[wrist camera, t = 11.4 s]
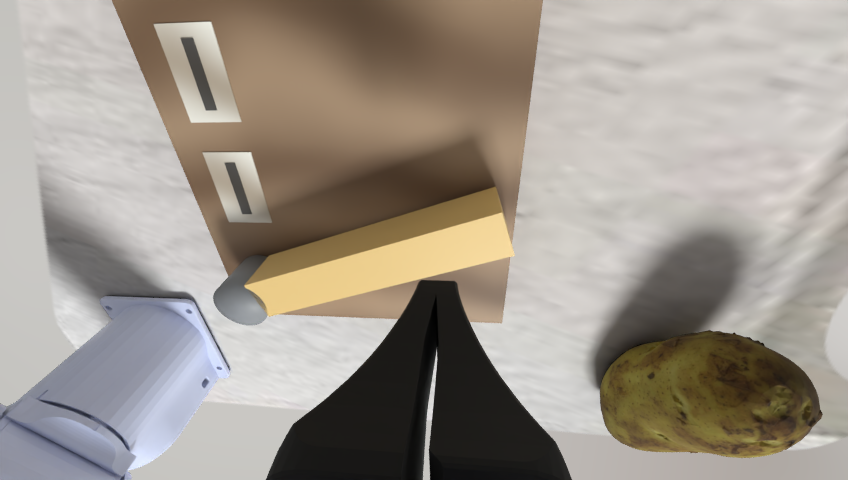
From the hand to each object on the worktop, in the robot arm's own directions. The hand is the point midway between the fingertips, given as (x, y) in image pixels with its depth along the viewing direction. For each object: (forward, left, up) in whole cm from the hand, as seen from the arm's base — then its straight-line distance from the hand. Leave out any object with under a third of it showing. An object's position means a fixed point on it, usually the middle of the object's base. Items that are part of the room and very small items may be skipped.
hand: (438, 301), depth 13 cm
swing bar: (-3, +5, -7) cm, 9 cm away
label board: (+2, +6, -9) cm, 11 cm away
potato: (-13, -16, -10) cm, 23 cm away
